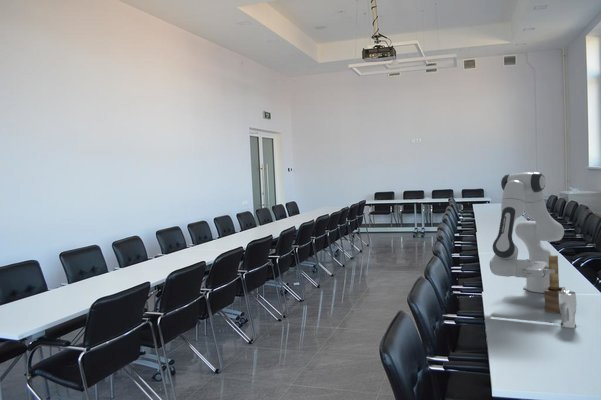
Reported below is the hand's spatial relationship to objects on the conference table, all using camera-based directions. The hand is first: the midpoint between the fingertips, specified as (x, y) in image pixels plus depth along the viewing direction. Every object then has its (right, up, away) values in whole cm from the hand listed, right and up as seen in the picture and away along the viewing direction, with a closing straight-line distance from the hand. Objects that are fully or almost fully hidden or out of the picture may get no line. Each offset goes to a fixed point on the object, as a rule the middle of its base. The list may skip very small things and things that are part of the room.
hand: (555, 270), depth 235 cm
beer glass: (-4, -22, -19) cm, 29 cm away
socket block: (+1, -19, +2) cm, 19 cm away
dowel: (0, -9, +1) cm, 9 cm away
